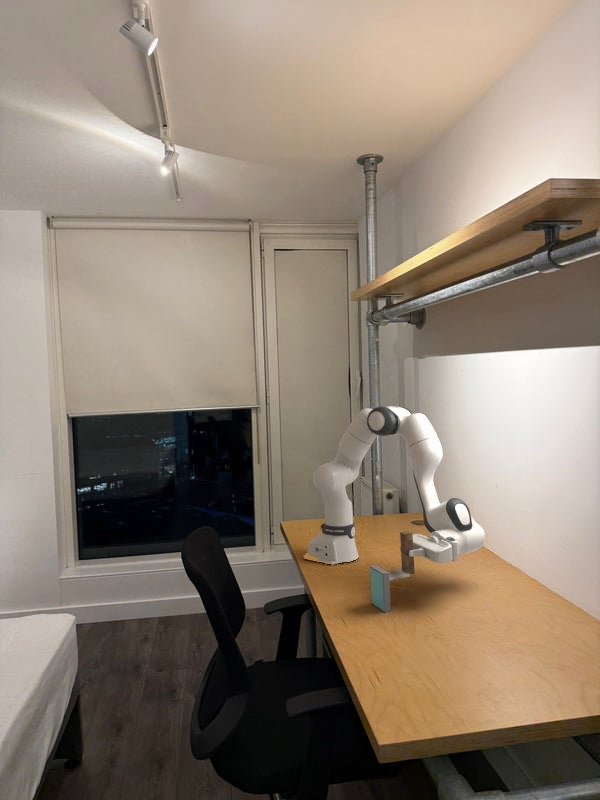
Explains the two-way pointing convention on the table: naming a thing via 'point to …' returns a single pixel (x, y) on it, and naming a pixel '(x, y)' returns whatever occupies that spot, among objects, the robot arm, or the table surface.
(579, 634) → the table surface
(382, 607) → the tile
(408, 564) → the brown and white bookend
